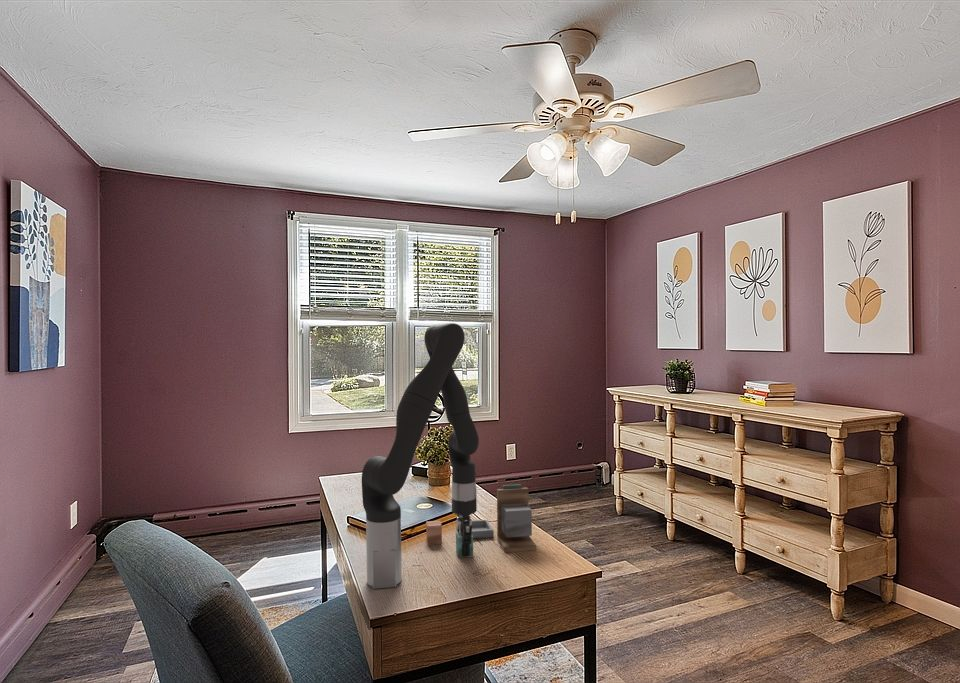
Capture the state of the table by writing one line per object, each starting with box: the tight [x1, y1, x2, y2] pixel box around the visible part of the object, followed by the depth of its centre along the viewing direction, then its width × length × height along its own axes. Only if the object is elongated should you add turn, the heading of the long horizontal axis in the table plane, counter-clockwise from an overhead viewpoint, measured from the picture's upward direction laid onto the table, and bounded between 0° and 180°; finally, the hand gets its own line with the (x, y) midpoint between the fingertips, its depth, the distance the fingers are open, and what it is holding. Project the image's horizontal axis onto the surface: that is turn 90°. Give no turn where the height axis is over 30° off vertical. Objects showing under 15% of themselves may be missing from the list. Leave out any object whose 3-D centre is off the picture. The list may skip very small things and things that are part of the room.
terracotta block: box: [425, 520, 443, 546], centre depth 182 cm, size 4×4×6 cm
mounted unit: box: [496, 483, 537, 553], centre depth 178 cm, size 10×10×18 cm
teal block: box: [455, 531, 474, 559], centre depth 171 cm, size 4×4×6 cm
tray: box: [456, 519, 494, 540], centre depth 189 cm, size 11×11×2 cm
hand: (464, 552), depth 171 cm, fingers closed on teal block, 4 cm apart
